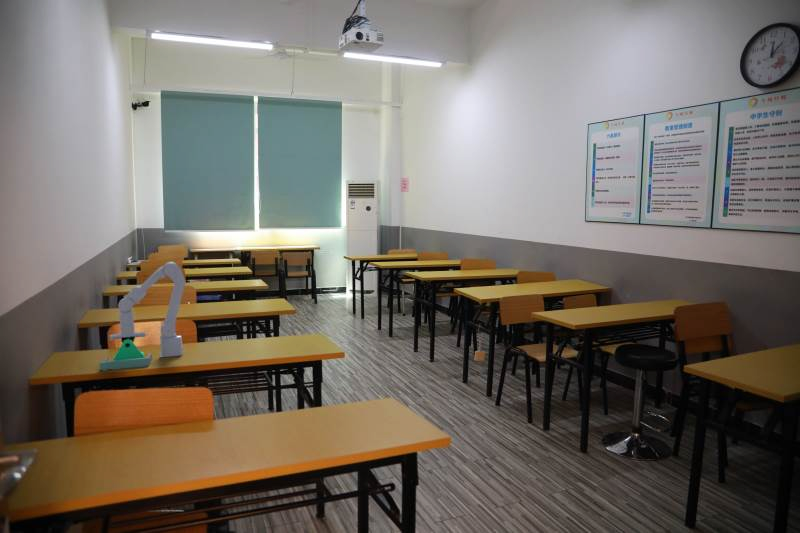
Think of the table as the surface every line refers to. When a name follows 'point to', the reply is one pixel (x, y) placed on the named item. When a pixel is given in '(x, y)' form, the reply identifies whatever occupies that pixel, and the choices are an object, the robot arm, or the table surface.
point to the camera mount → (128, 351)
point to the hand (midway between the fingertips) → (129, 353)
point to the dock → (125, 363)
